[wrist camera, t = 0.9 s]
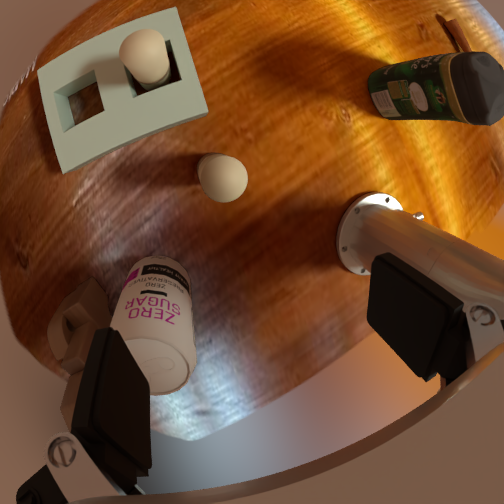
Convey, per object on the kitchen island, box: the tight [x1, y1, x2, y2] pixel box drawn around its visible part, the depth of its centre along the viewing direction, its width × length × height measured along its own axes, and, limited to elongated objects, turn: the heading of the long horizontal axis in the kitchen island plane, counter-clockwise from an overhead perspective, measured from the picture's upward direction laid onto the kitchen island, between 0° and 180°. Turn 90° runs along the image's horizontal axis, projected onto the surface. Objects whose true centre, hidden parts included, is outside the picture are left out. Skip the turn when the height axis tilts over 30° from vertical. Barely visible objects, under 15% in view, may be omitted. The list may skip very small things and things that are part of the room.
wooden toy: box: [47, 277, 112, 432], centre depth 23 cm, size 15×7×25 cm, turn 25°
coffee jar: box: [368, 52, 504, 126], centre depth 21 cm, size 10×8×19 cm
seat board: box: [37, 7, 208, 174], centre depth 19 cm, size 16×13×10 cm
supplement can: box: [110, 255, 197, 396], centre depth 26 cm, size 8×8×15 cm
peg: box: [197, 153, 248, 202], centre depth 25 cm, size 4×4×10 cm
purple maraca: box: [443, 19, 472, 52], centre depth 27 cm, size 6×6×20 cm
